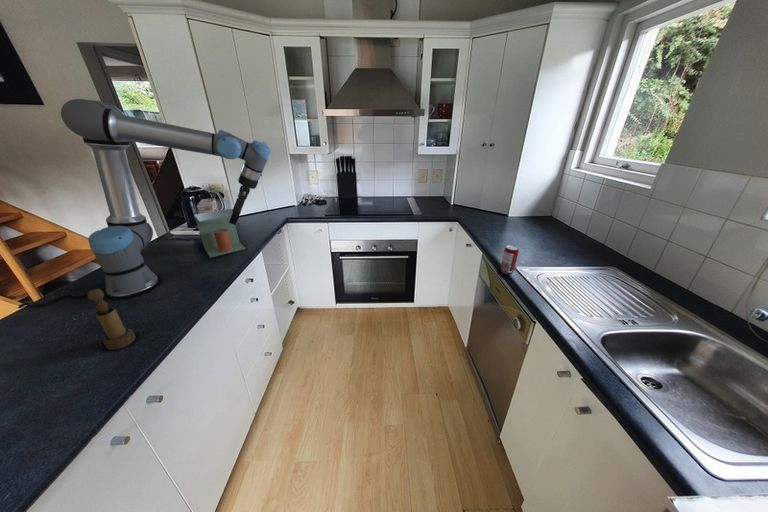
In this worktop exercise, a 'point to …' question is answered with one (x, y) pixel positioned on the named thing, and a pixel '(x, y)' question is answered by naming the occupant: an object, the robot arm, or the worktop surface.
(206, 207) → the coffeecake box
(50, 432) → the worktop surface
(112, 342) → the brown tall wooden piece
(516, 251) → the soda can
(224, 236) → the reddish-brown upright block
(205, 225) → the pale green box
